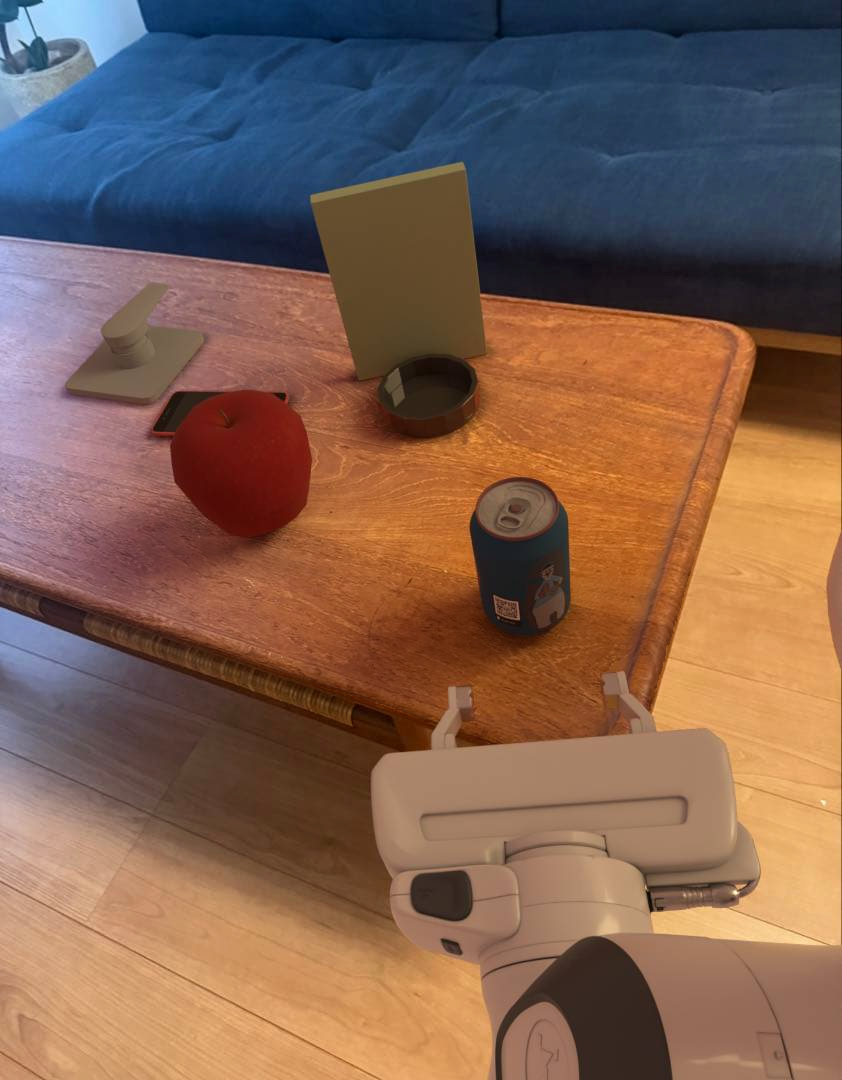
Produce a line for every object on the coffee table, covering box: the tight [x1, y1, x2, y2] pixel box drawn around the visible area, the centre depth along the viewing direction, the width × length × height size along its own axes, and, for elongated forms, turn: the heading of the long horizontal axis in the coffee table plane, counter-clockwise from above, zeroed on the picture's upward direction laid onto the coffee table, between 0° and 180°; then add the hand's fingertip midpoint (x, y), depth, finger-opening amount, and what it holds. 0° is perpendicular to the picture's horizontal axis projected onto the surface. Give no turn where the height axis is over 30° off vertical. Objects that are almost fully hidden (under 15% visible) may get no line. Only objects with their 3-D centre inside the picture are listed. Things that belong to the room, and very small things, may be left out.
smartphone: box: [150, 390, 290, 437], centre depth 87 cm, size 7×1×14 cm
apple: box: [169, 389, 313, 538], centre depth 71 cm, size 12×12×13 cm
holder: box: [376, 354, 481, 439], centre depth 82 cm, size 10×10×2 cm
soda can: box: [469, 476, 572, 638], centre depth 61 cm, size 7×7×12 cm
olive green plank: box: [309, 161, 488, 382], centre depth 80 cm, size 14×2×20 cm, turn 98°
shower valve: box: [64, 282, 205, 405], centre depth 95 cm, size 12×6×15 cm
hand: (535, 683), depth 51 cm, fingers open, 8 cm apart
